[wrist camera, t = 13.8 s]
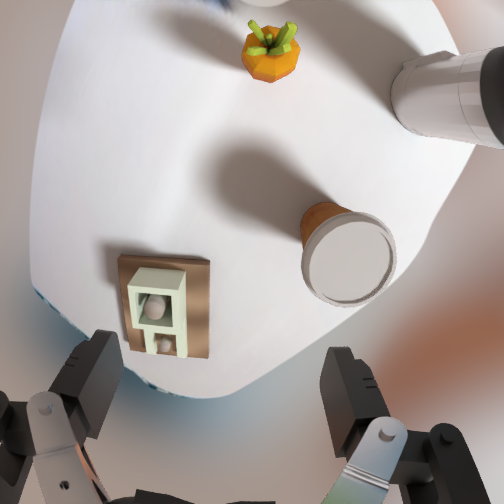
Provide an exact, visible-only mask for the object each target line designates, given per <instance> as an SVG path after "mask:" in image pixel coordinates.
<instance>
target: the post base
mask: <svg viewBox="0 0 504 504" xmlns="http://www.w3.org/2000/svg"><path fill="white" fill-rule="evenodd" d="M117 260H118V270H119V279H120V287H121V295H122V303H123V310H124V316H125V323H126V329H127V335H128V341H129V346H130V350H133V351H140V352H146V345H145V337H144V329H136V328H133V326H132V319H131V311H130V303H129V294H128V284H129V282H130V281H131V279H132V278H133V276H134V275H135V274H136V272H137V271H138V269H139V268H140V267H147V268H159V269H171V270H184V271H186V320H187V347H188V355H187V357H194V358H207V359H208V357H209V287H210V261H206V260H190V259H175V258H161V257H146V256H132V255H121V256H120V257H119V258H118V259H117ZM167 304H168V305H172V300H171V296H169V295H158V294H148V300H147V302H146V304H145V306H144V313H145V315H146V316H147V317H148V318H150V319H153V320H157V319H160V318H161V317H162V316H163V313H164V311H165V308H166V306H167ZM155 334H156V343H157V353H156V354H164V355H174V356H177V347H176V335H172V334H162V333H155Z"/></svg>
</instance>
